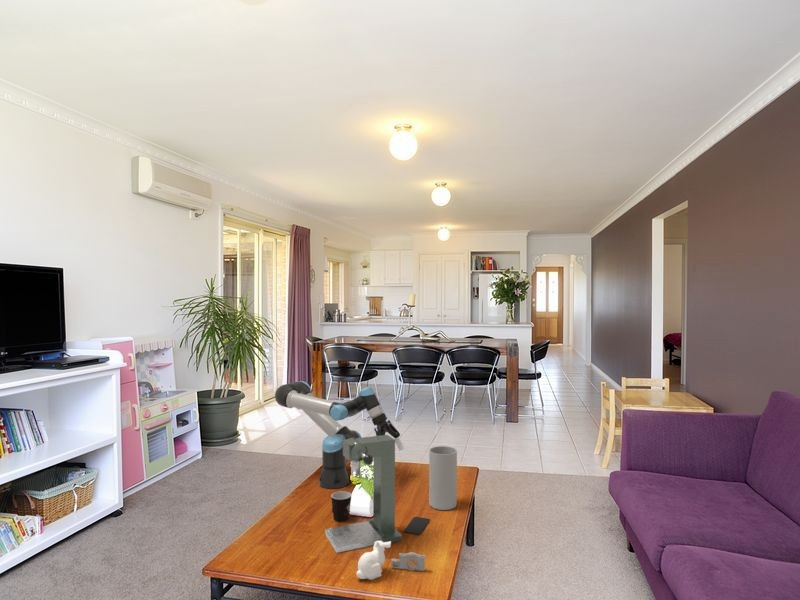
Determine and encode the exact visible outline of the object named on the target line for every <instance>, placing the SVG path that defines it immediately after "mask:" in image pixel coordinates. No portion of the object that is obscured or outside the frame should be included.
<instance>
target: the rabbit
mask: <svg viewBox="0 0 800 600" xmlns="http://www.w3.org/2000/svg"><path fill="white" fill-rule="evenodd" d="M391 545H392V543H391V541H390V542H384V543H383V541H376V542H375V543H374V545H373V547H372V548H373V550H372V551H366V552H364V553H363V554H362V555H361V556H360V558H359V560H358V562H357V571H356V577H357V578H358V579H360V580H371V581H372V580H375V579H377V578H380V577H382V572H383V569H382V568H381V566H382V565H384V563H385V561H386V557H385V556H386V555H385V550H386V549H385V548H387V549H388V548H391Z"/></svg>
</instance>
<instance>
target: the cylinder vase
mask: <svg viewBox="0 0 800 600" xmlns="http://www.w3.org/2000/svg"><path fill="white" fill-rule="evenodd" d="M428 454H429V455H428V458H429V461H428V462H429V463H428V464H429V465H428V466H429V468H428V469H429V470H428V475H429V476H428V480H429V481H428V483H429V484H428V485H429V486H428V489H429V491H428V492H429V493H428V500H429V501H428V504H429V506H430V507H431V508H433V509H435V510H437V511H450V510H453V509H455V508H456V506H457V503H458V501H457V500H458V498H457V497H458V496H457V495H458V494H457V493H458V492H457V489H458V488H457V486H458V481H457V480H458V477H457V476H458V475H457V474H458V450H457V449H456V448H455V447H451V446H444V445H440V446H439V445H438V446H433V447H431V448H429V453H428Z"/></svg>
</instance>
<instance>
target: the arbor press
mask: <svg viewBox="0 0 800 600" xmlns="http://www.w3.org/2000/svg"><path fill="white" fill-rule="evenodd" d="M343 456H344V457H346V458H345V459H346V460H347V461H349V462H350V474H351V476H352V477H358V476H360V475H361V462H362V461H363V463H364V464H365V465H367V466H368V465H371V464H373V496H372V497H373V502H372V503H373V504H372V505H373V506H372V509H373V511H372V512H373V513H372V515H373V516H372V518H371V519H367V520H365V521H361V522H356V523H351V524H347V525H346V524H345V525H340V526H334V527H329V528H325V529H324V535H325V536H326V538H327V540H328V541H329V543H330V544H331V547H332V548H333V550H334V551H335V552H336V553H335V554H339V553H342V552H343V553H344V552H348V551H353V550H357V549H364V548H367V547H371V546H374V543H375V542H376V541H383V543H384V542H390V541H391V544H393V543H397V542H403V535H402V534H401V532H399V531H398V530H397V528H396V527H395V525H396V523H395V522H396V521H395V518H396V517H395V516H396V514H395V512H396V501H395V500H396V494H395V493H396V491H395V490H396V486H395V485H396V482H395V481H396V442H395V438H394V437H393V436H391V435H390V434H389V435H388V434H385V435H381V436H376V435H373V436H365V437H361V438H349V439H346V440H343Z"/></svg>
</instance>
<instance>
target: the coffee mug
mask: <svg viewBox="0 0 800 600" xmlns="http://www.w3.org/2000/svg"><path fill="white" fill-rule="evenodd" d="M330 498H331V507H332V508H331V512H332V515H333V517H332V518H333V520H335V521H334V522H336V521H337V523H344V522H347V521H348V520H349V518H350V512H351V511H350V510H351V502H352V493H351V492H349V491H346V490H345V491H343V490H342V491H336V492H333V493H332V494H331V495H330Z"/></svg>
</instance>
